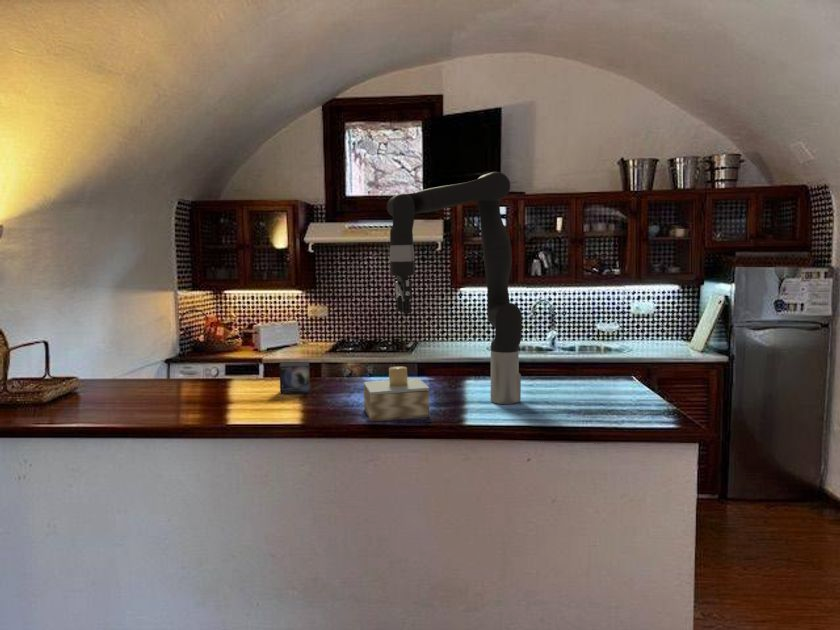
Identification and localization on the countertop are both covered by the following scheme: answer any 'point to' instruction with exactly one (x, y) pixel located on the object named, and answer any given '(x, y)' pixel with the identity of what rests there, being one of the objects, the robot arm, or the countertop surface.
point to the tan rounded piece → (398, 376)
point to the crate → (396, 405)
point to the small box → (294, 378)
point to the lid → (395, 387)
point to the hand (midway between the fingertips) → (403, 312)
